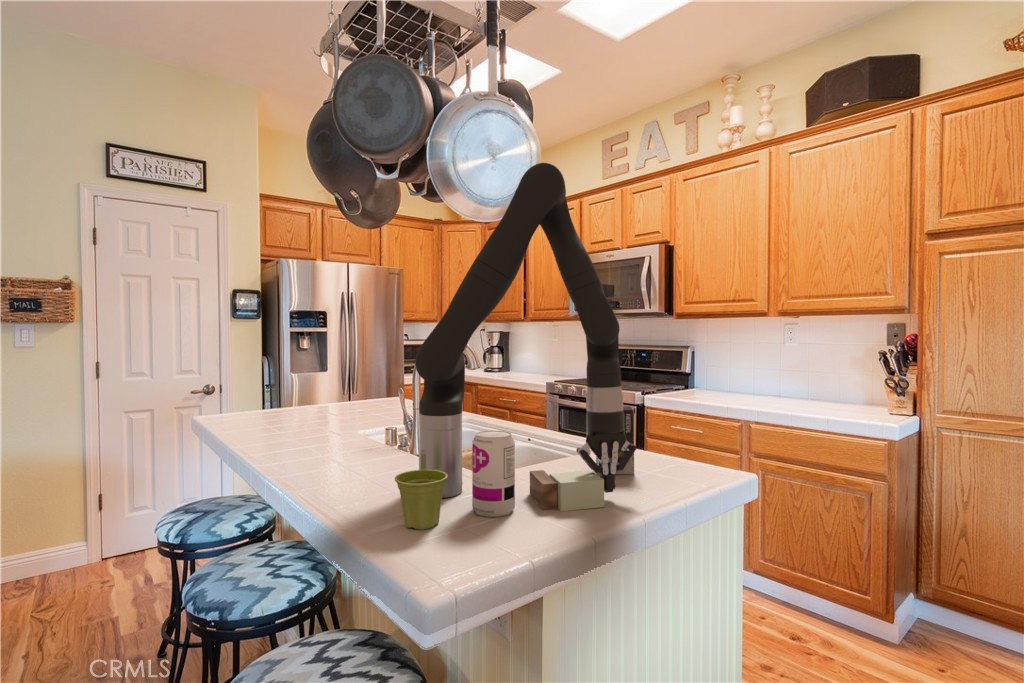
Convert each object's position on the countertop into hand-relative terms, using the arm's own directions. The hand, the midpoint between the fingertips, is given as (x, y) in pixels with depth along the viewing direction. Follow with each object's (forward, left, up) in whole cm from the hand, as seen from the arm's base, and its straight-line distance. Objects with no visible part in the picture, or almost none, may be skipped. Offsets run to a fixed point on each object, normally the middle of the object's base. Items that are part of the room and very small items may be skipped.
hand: (608, 491), depth 106 cm
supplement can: (-25, -2, -2) cm, 25 cm away
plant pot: (-39, -6, -2) cm, 39 cm away
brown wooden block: (-14, +2, -2) cm, 14 cm away
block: (-7, -1, -2) cm, 8 cm away
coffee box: (+10, +20, -2) cm, 23 cm away
